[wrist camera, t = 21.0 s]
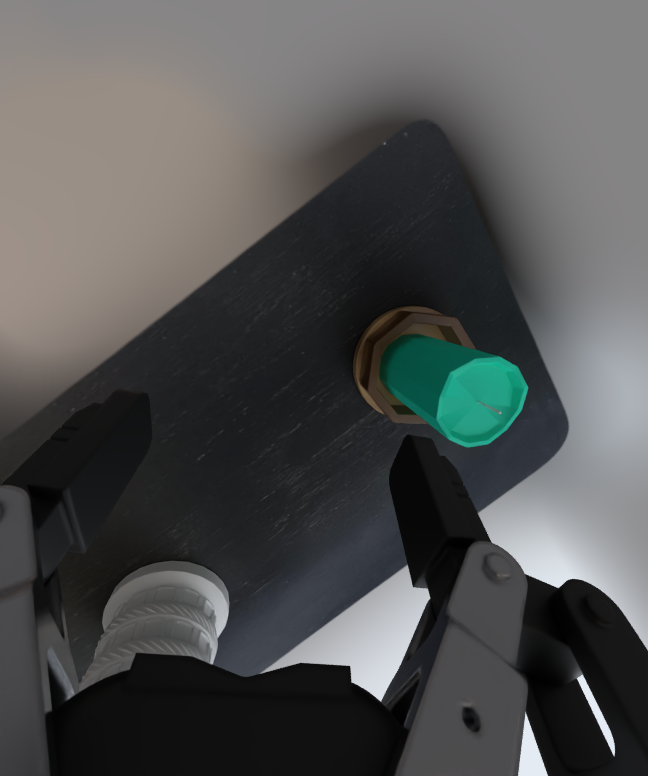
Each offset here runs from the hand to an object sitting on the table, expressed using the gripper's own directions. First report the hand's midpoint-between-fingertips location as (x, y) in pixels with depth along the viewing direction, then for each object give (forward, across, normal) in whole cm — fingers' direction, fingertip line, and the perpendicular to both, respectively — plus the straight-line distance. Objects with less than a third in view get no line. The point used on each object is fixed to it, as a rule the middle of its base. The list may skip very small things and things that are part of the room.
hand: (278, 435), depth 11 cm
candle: (+18, -11, +6) cm, 22 cm away
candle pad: (+19, -11, +6) cm, 23 cm away
